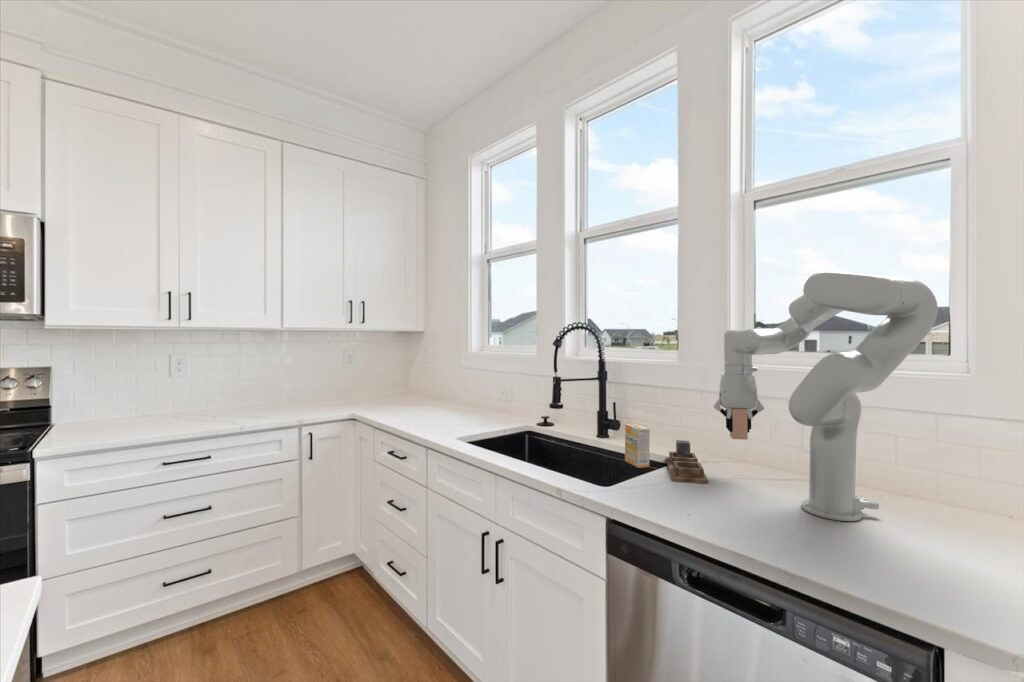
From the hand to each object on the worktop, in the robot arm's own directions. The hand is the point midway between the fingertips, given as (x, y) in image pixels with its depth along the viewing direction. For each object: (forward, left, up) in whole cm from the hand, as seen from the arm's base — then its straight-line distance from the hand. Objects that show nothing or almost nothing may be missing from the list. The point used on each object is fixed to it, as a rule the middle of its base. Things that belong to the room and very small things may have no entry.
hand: (738, 430), depth 141 cm
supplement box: (+29, -10, -15) cm, 35 cm away
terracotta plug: (0, 0, -2) cm, 2 cm away
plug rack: (+14, -6, -15) cm, 22 cm away
